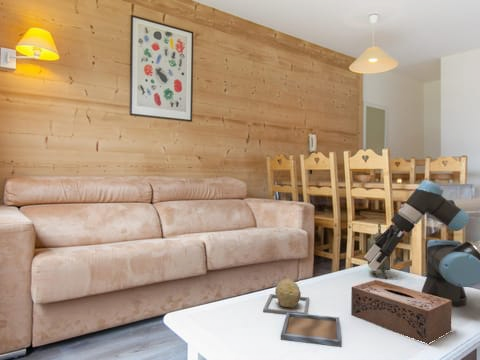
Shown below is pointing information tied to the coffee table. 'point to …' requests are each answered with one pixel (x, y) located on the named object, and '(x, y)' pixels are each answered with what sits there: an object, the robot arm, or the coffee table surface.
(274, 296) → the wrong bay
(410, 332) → the tissue box cover
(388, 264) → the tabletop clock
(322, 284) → the coffee table surface
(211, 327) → the coffee table surface
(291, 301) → the coral
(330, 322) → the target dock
